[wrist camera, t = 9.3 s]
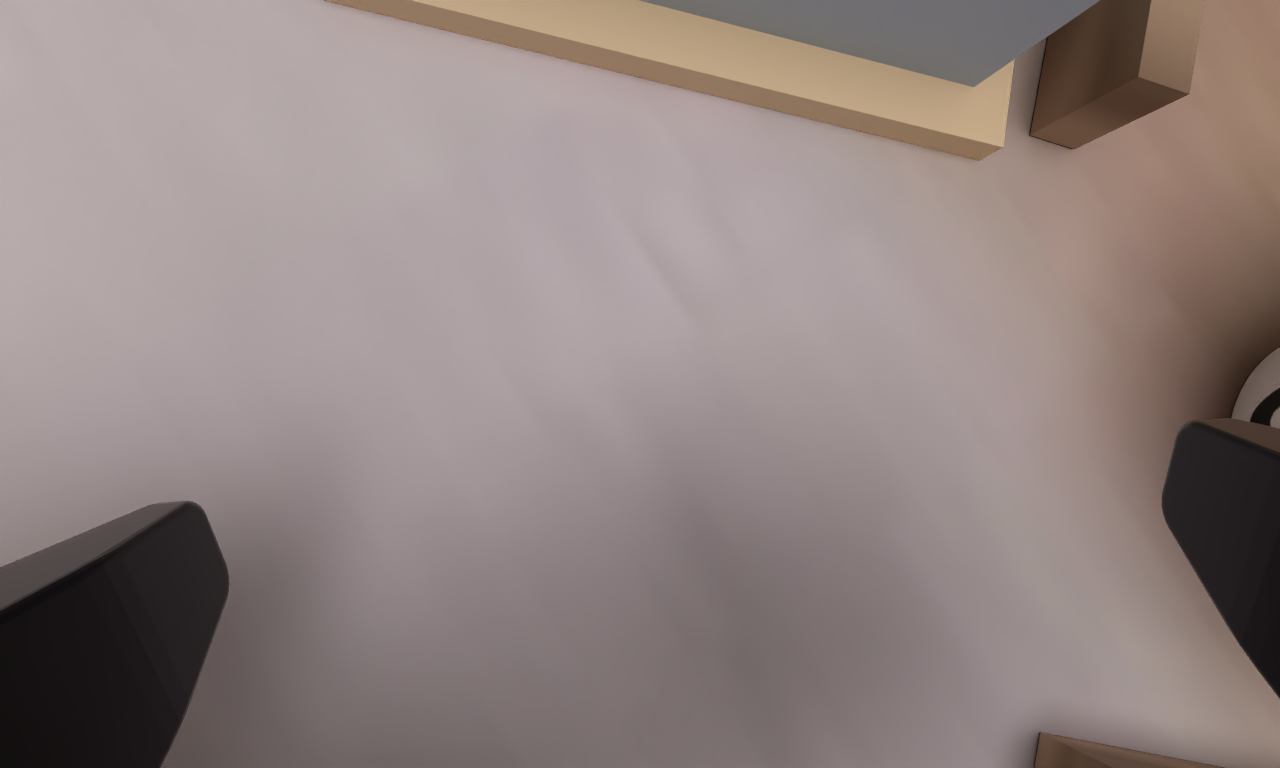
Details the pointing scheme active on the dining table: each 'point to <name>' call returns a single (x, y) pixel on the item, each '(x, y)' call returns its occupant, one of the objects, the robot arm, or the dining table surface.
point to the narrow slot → (1099, 756)
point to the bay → (1115, 67)
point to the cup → (1261, 394)
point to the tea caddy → (791, 53)
